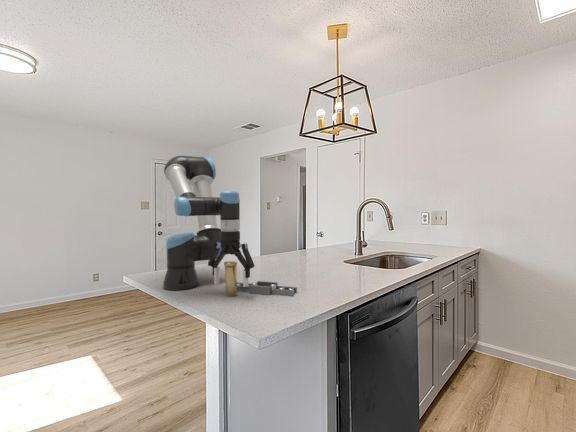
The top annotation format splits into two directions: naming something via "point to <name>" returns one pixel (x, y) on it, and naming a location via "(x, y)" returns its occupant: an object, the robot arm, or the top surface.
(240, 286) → the chain joint
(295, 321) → the top surface
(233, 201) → the robot arm
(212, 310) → the top surface
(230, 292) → the pin
